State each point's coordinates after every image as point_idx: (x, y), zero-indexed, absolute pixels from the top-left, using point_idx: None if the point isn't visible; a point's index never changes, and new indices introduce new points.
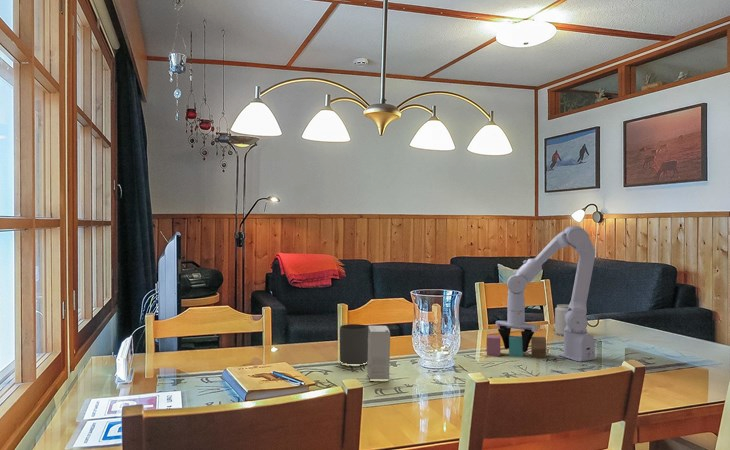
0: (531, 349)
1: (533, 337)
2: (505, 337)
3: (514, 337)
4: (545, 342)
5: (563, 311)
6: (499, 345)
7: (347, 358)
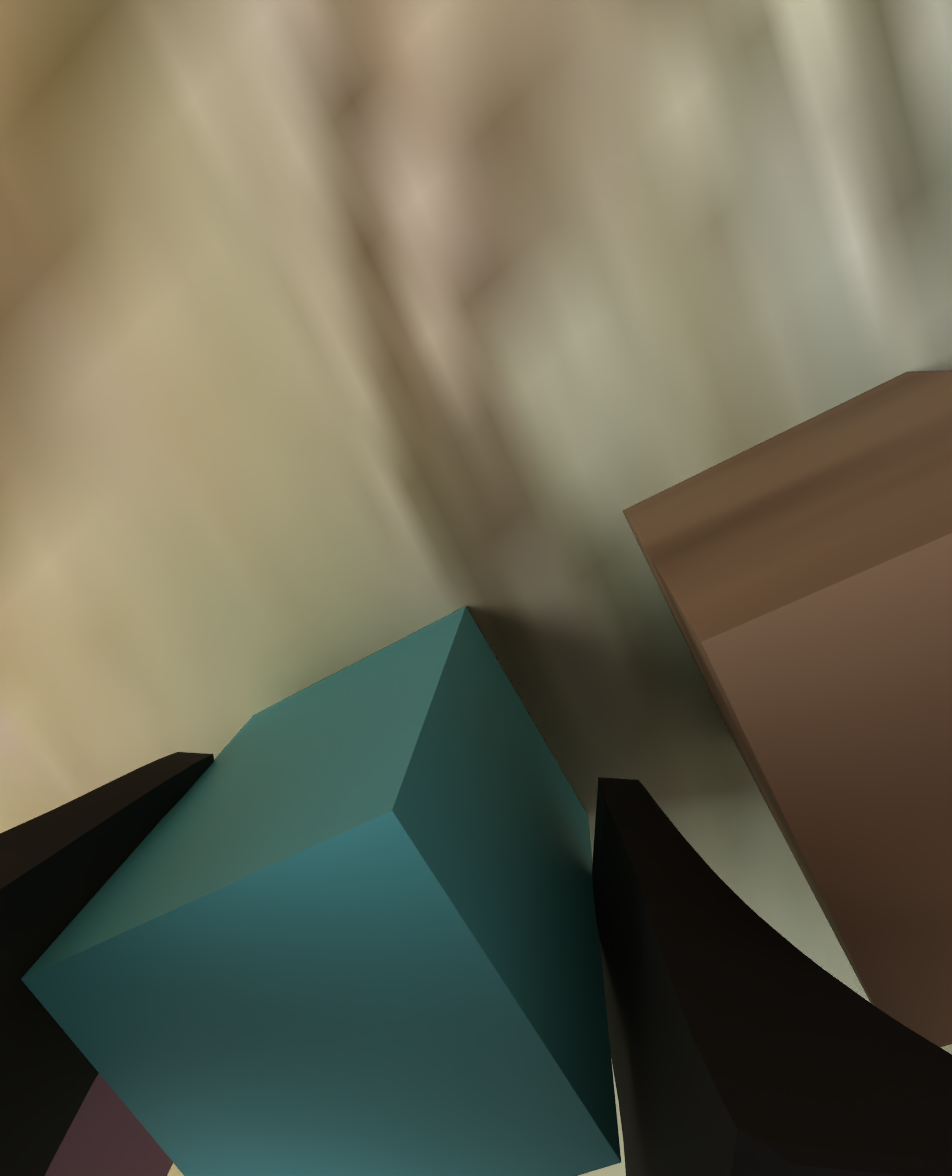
0: (667, 598)
1: (853, 776)
2: (56, 1115)
3: (293, 1107)
4: None
5: None
6: (165, 1155)
7: None
